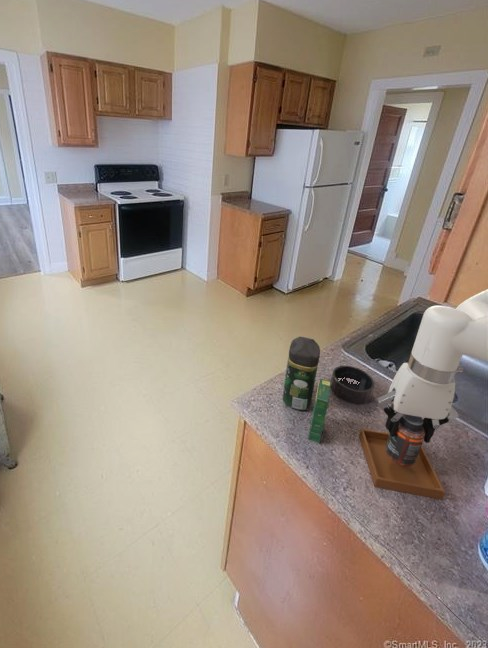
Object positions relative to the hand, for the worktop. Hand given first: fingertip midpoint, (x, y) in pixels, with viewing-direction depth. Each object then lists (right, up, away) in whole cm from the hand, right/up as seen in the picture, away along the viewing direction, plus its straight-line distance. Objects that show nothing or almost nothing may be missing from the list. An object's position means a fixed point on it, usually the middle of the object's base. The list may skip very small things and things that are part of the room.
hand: (407, 433), depth 70 cm
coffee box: (-16, -5, +12) cm, 21 cm away
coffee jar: (-18, -1, +22) cm, 28 cm away
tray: (0, -9, +4) cm, 10 cm away
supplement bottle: (0, -6, +2) cm, 7 cm away
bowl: (-1, 0, +25) cm, 25 cm away
